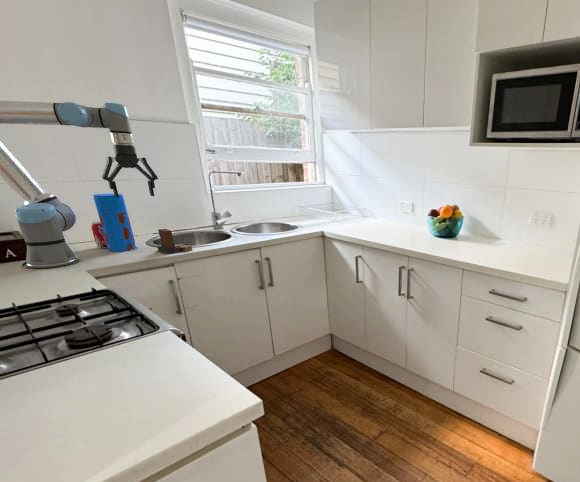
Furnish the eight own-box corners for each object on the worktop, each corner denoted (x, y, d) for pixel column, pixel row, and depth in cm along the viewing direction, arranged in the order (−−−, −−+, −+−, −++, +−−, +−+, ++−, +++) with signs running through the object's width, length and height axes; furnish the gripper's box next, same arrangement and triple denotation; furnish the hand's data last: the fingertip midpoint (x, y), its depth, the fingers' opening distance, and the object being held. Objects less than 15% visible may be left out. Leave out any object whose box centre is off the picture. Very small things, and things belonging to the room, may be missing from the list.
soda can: (100, 249, 179) (92, 224, 174) (95, 247, 183) (87, 222, 178) (117, 247, 184) (110, 222, 179) (112, 245, 188) (105, 220, 183)
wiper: (166, 254, 174) (161, 232, 170) (158, 250, 180) (153, 229, 176) (180, 251, 178) (176, 230, 175) (172, 248, 184) (167, 227, 180)
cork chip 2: (178, 251, 180) (177, 246, 179) (185, 249, 183) (184, 245, 183) (185, 251, 179) (184, 247, 178) (192, 249, 182) (191, 245, 182)
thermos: (103, 249, 179) (87, 194, 170) (128, 245, 188) (114, 192, 178) (116, 252, 174) (100, 196, 165) (141, 248, 183) (127, 194, 174)
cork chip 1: (176, 250, 181) (175, 246, 180) (173, 249, 183) (172, 244, 182) (185, 249, 184) (184, 244, 183) (182, 247, 186) (181, 243, 185)
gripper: (89, 142, 150) (103, 198, 157) (160, 146, 168) (169, 196, 176) (84, 142, 154) (97, 197, 162) (153, 146, 172) (162, 194, 180)
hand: (135, 196), depth 169 cm, fingers open, 13 cm apart
